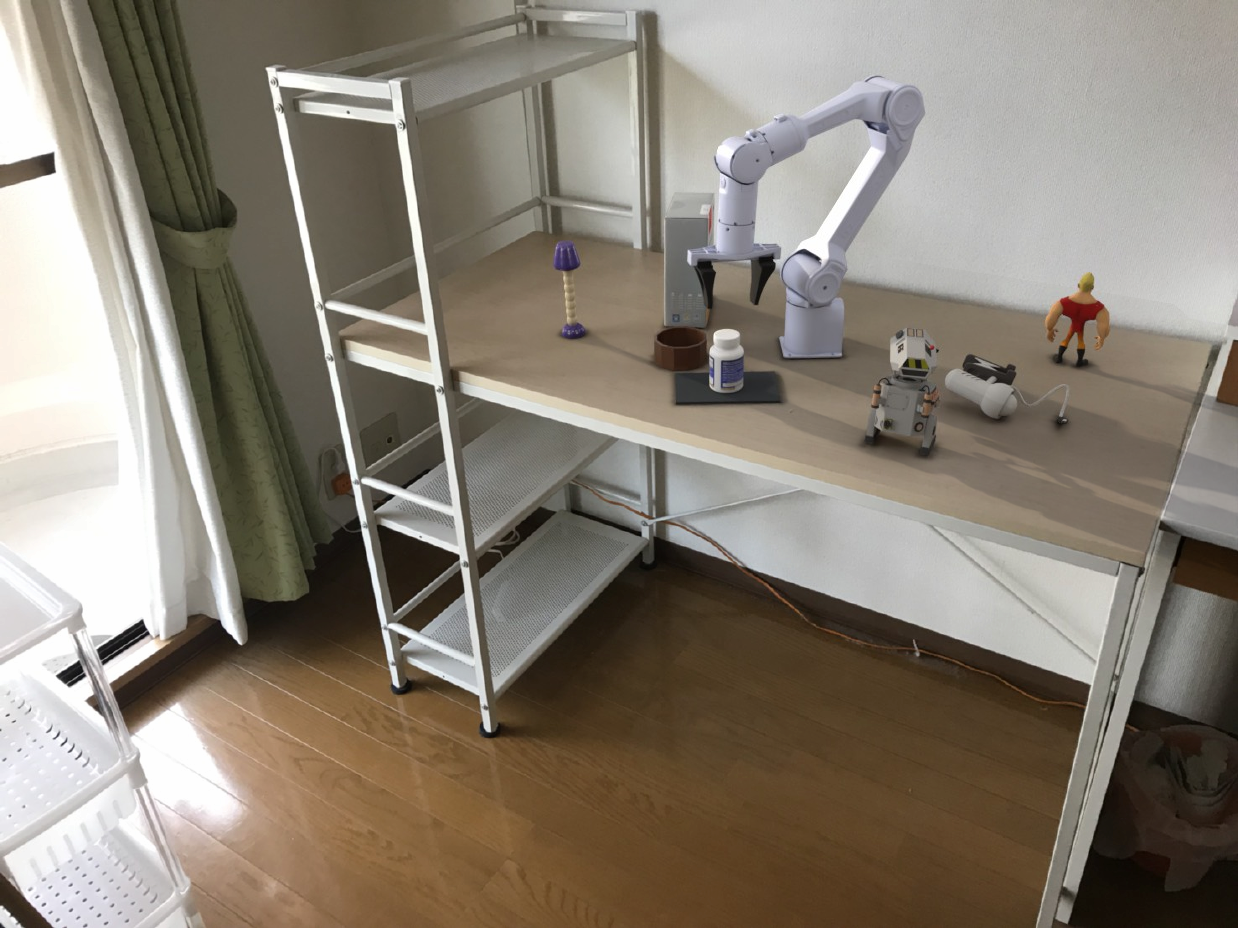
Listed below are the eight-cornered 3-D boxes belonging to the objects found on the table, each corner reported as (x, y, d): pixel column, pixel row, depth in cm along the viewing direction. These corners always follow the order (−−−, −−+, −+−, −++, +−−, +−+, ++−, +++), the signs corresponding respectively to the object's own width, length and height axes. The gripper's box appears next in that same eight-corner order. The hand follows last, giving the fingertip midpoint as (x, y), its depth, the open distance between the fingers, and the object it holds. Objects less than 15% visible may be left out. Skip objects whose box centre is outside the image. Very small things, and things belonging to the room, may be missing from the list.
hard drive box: (707, 329, 175) (708, 218, 165) (663, 328, 176) (662, 218, 166) (713, 295, 188) (715, 191, 178) (673, 294, 189) (672, 190, 179)
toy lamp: (581, 340, 173) (575, 248, 164) (555, 339, 174) (548, 247, 165) (587, 329, 177) (582, 238, 168) (562, 328, 178) (555, 237, 169)
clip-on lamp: (1071, 425, 147) (960, 372, 155) (1091, 389, 144) (976, 336, 151) (1048, 452, 139) (932, 395, 146) (1069, 415, 135) (949, 357, 143)
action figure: (1103, 363, 158) (1124, 273, 150) (1099, 372, 155) (1121, 281, 147) (1040, 352, 162) (1058, 264, 154) (1036, 361, 159) (1053, 272, 152)
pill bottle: (749, 383, 156) (750, 331, 151) (733, 397, 152) (734, 344, 147) (719, 376, 158) (720, 324, 154) (702, 389, 155) (703, 336, 150)
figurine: (944, 425, 143) (958, 329, 135) (925, 463, 134) (939, 363, 127) (881, 413, 147) (892, 319, 139) (859, 449, 138) (869, 351, 130)
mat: (774, 373, 159) (774, 371, 159) (780, 402, 151) (781, 400, 151) (674, 375, 160) (674, 373, 160) (675, 404, 152) (675, 402, 151)
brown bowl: (705, 347, 169) (705, 325, 167) (707, 369, 161) (707, 347, 159) (654, 348, 169) (654, 326, 167) (654, 370, 162) (653, 348, 160)
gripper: (772, 210, 155) (765, 292, 162) (683, 215, 152) (680, 299, 159) (789, 223, 149) (781, 308, 156) (696, 229, 146) (692, 315, 153)
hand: (731, 305), depth 157 cm, fingers open, 7 cm apart
